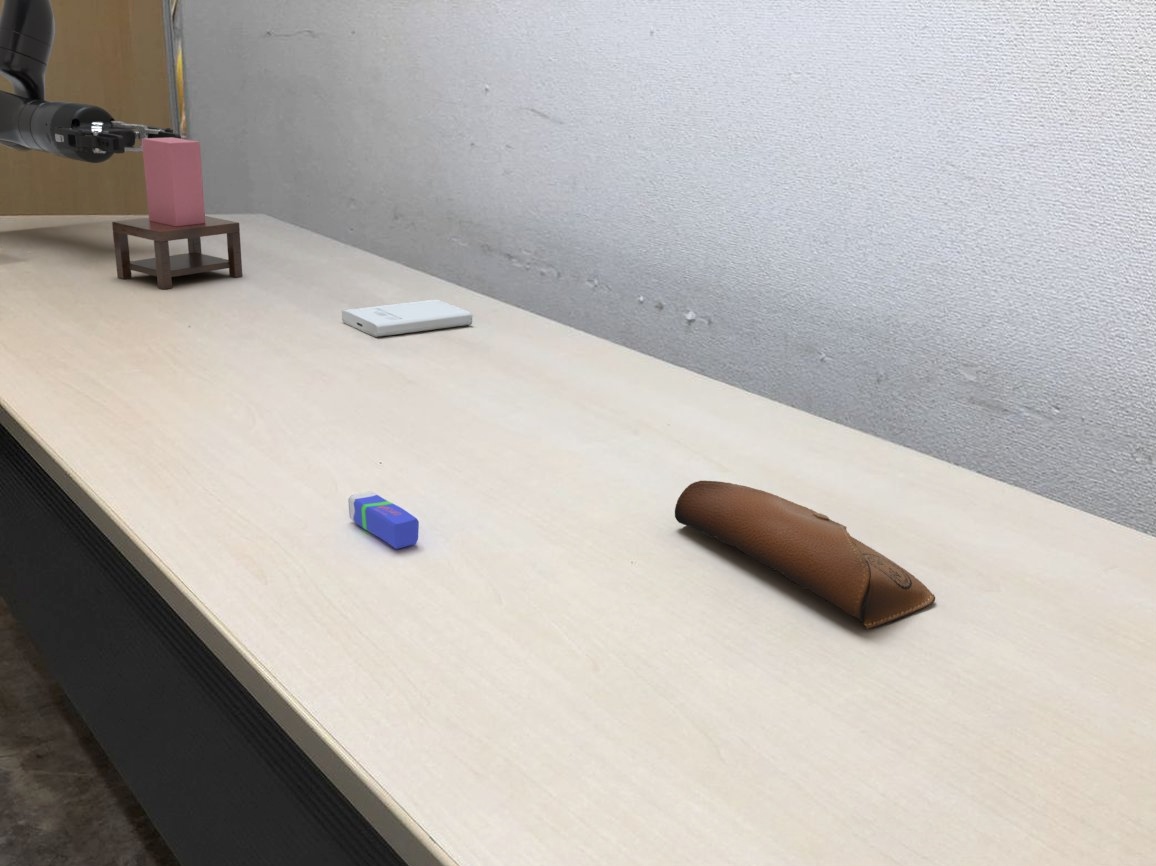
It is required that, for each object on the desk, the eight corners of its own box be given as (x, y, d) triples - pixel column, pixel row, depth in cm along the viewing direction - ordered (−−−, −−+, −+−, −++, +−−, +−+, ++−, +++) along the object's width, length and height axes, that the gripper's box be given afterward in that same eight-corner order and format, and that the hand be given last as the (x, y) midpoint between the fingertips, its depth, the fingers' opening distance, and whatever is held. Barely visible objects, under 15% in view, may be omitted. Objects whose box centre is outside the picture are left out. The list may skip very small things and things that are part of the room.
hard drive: (472, 326, 131) (377, 338, 123) (435, 311, 137) (341, 321, 129) (472, 312, 130) (377, 323, 123) (435, 298, 136) (341, 307, 128)
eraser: (373, 515, 79) (373, 488, 79) (419, 545, 75) (419, 517, 75) (348, 521, 78) (347, 494, 77) (393, 552, 74) (393, 524, 73)
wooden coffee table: (164, 289, 137) (159, 232, 135) (117, 277, 142) (111, 221, 139) (242, 276, 147) (239, 222, 145) (196, 265, 151) (192, 213, 149)
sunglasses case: (947, 594, 73) (928, 524, 68) (877, 668, 70) (853, 600, 66) (755, 500, 85) (730, 436, 81) (691, 560, 83) (662, 497, 79)
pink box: (176, 226, 139) (169, 143, 135) (149, 220, 141) (141, 138, 138) (205, 223, 142) (199, 141, 139) (178, 217, 145) (172, 137, 141)
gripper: (20, 102, 146) (98, 114, 139) (118, 102, 158) (195, 113, 150) (28, 161, 149) (104, 176, 142) (123, 157, 161) (199, 170, 153)
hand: (151, 143), depth 146 cm, fingers open, 8 cm apart
